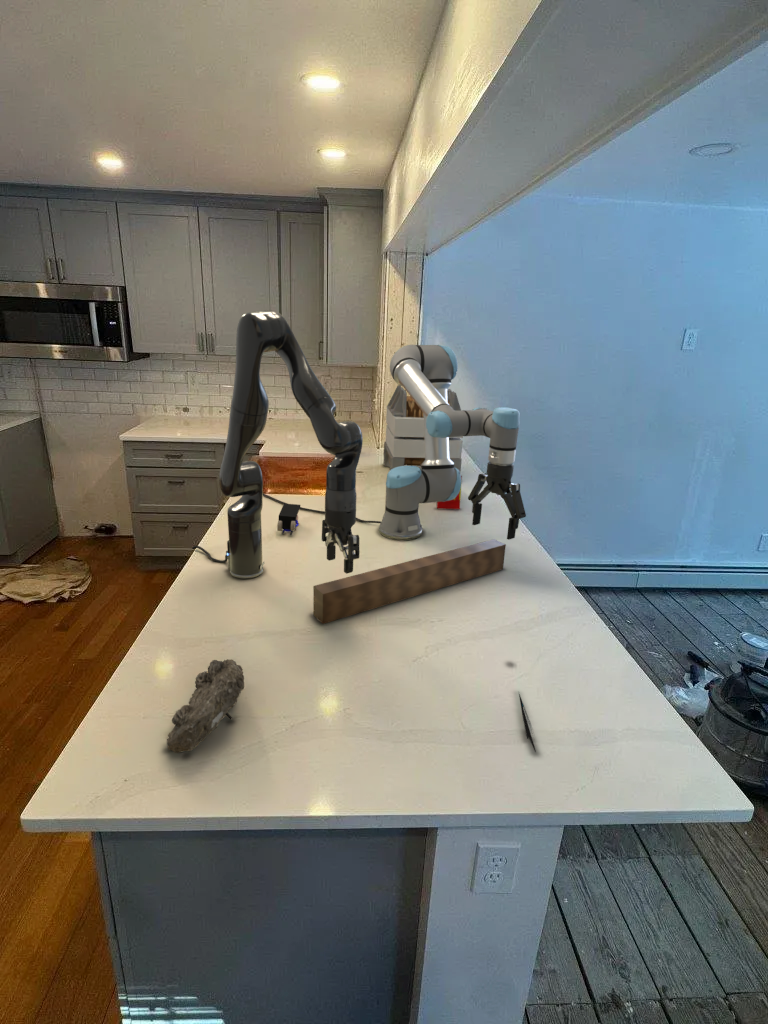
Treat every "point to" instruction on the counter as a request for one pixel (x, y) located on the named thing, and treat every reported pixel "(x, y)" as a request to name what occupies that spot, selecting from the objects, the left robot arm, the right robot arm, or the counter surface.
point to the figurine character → (288, 518)
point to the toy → (451, 502)
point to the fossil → (206, 705)
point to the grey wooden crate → (412, 432)
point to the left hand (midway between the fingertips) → (339, 565)
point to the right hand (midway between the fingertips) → (492, 531)
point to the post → (405, 580)
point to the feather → (526, 723)
